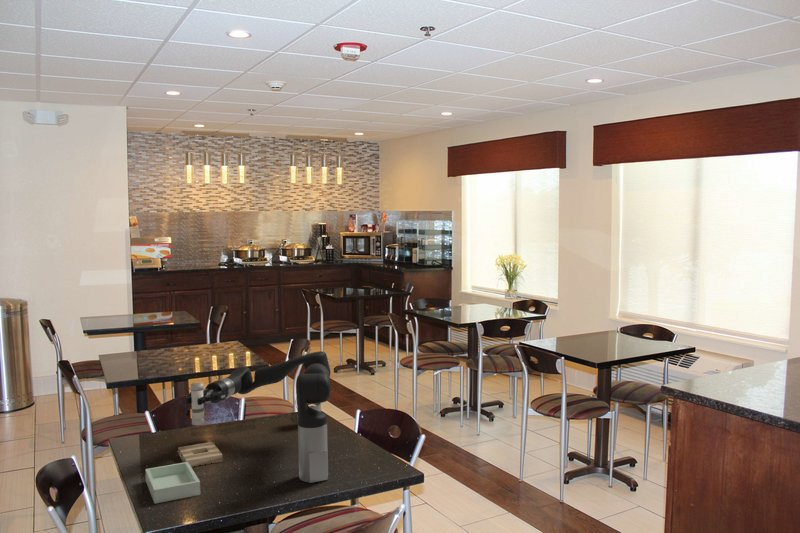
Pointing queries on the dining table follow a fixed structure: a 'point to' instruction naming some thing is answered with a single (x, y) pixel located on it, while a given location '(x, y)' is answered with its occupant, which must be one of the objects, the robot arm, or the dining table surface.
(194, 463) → the fuse holder
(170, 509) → the dining table surface
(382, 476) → the dining table surface
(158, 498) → the parts tray
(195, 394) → the fuse
